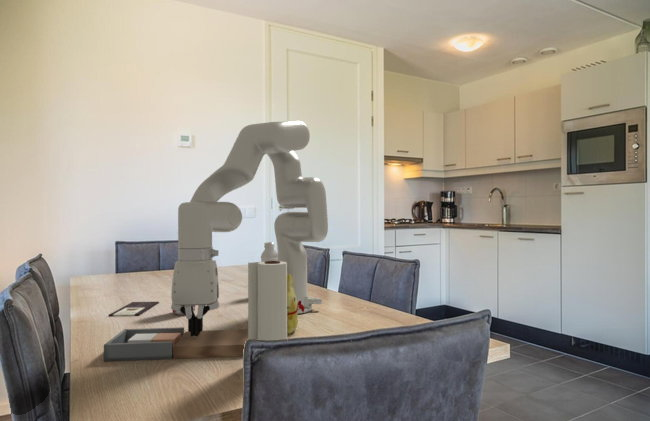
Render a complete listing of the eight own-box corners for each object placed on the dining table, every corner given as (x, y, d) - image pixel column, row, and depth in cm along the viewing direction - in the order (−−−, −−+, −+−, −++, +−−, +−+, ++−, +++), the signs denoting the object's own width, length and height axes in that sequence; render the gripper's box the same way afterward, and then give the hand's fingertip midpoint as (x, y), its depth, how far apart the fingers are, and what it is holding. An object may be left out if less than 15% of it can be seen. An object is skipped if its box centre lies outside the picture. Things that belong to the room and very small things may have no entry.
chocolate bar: (158, 301, 146) (138, 314, 128) (158, 304, 146) (138, 317, 128) (132, 302, 146) (108, 314, 128) (132, 304, 146) (108, 317, 128)
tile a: (180, 343, 99) (180, 332, 99) (174, 350, 94) (174, 339, 94) (158, 343, 99) (158, 333, 99) (151, 350, 94) (151, 339, 94)
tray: (184, 341, 102) (184, 327, 103) (171, 358, 91) (171, 342, 91) (124, 343, 101) (124, 329, 101) (103, 361, 89) (103, 344, 89)
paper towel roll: (293, 364, 87) (293, 261, 87) (271, 373, 82) (270, 264, 82) (270, 356, 92) (270, 259, 92) (248, 364, 87) (247, 261, 87)
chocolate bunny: (277, 336, 107) (276, 277, 107) (280, 324, 118) (279, 271, 118) (303, 336, 107) (303, 277, 107) (304, 324, 118) (304, 271, 118)
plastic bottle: (259, 294, 161) (259, 242, 161) (276, 293, 163) (276, 241, 163) (261, 297, 155) (261, 243, 155) (279, 296, 157) (279, 243, 157)
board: (251, 339, 104) (251, 329, 104) (248, 355, 92) (248, 344, 92) (185, 341, 103) (185, 331, 103) (173, 358, 91) (173, 347, 91)
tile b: (158, 343, 99) (157, 333, 99) (150, 351, 94) (150, 339, 94) (136, 344, 98) (136, 333, 98) (127, 351, 93) (127, 340, 93)
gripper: (230, 253, 101) (230, 329, 101) (166, 254, 100) (166, 331, 100) (225, 256, 94) (226, 338, 94) (157, 257, 93) (157, 340, 93)
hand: (195, 334), depth 97 cm, fingers closed
